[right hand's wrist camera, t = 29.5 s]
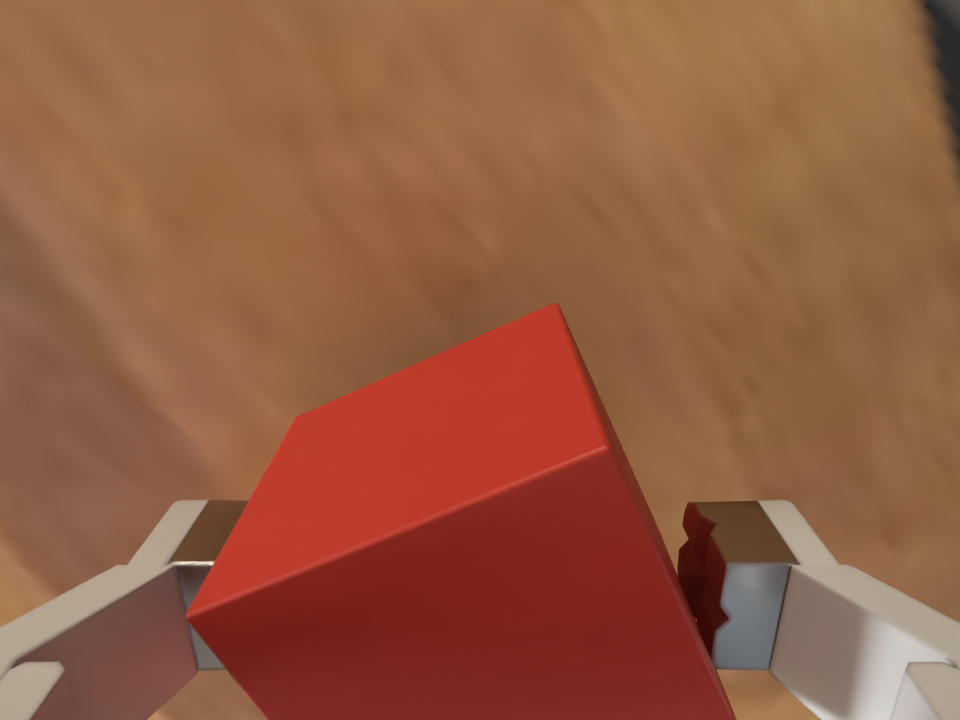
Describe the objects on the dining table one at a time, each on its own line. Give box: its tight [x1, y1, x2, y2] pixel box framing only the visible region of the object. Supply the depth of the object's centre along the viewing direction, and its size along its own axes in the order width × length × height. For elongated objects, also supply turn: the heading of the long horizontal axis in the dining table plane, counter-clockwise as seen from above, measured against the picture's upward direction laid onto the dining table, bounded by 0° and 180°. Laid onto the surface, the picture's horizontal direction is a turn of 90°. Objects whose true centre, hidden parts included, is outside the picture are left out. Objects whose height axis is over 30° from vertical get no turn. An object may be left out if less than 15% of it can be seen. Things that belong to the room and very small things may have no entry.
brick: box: [186, 303, 737, 720], centre depth 10 cm, size 5×5×5 cm
